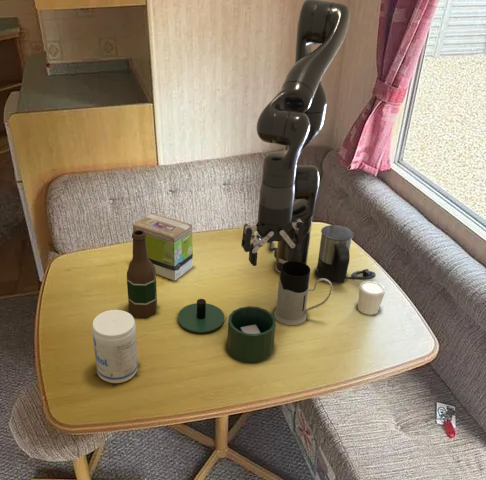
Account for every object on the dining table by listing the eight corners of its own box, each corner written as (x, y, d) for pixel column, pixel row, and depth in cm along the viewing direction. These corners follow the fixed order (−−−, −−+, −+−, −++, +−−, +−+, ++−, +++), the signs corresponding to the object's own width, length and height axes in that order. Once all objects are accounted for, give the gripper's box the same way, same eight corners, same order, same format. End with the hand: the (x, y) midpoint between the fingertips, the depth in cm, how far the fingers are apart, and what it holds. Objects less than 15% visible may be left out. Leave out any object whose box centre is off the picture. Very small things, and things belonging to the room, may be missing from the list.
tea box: (193, 267, 169) (193, 224, 161) (174, 282, 162) (173, 238, 154) (154, 252, 176) (152, 210, 168) (134, 266, 169) (131, 223, 160)
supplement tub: (88, 371, 130) (81, 322, 122) (119, 351, 136) (114, 303, 128) (116, 391, 125) (111, 341, 117) (146, 369, 131) (143, 320, 123)
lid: (173, 310, 151) (172, 291, 147) (216, 303, 154) (217, 285, 150) (184, 338, 141) (183, 319, 137) (230, 330, 144) (231, 311, 140)
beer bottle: (162, 306, 152) (160, 229, 139) (148, 321, 146) (144, 243, 133) (138, 298, 155) (133, 222, 142) (123, 314, 149) (116, 235, 136)
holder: (278, 302, 154) (283, 256, 146) (329, 314, 150) (337, 268, 142) (269, 320, 147) (274, 273, 139) (322, 333, 143) (330, 285, 135)
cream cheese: (238, 339, 140) (239, 326, 138) (254, 336, 141) (256, 323, 139) (247, 355, 135) (248, 342, 133) (263, 352, 136) (265, 339, 134)
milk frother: (309, 270, 169) (314, 227, 160) (352, 260, 174) (359, 218, 166) (335, 295, 158) (343, 250, 150) (380, 284, 163) (390, 240, 155)
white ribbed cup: (381, 317, 149) (386, 296, 146) (355, 314, 150) (359, 293, 147) (380, 303, 155) (384, 282, 151) (355, 299, 156) (359, 279, 152)
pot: (221, 336, 141) (222, 310, 137) (263, 329, 144) (265, 303, 140) (235, 366, 132) (237, 338, 128) (279, 358, 135) (283, 331, 130)
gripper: (299, 189, 126) (292, 250, 135) (240, 196, 123) (237, 257, 132) (313, 204, 120) (304, 266, 130) (251, 211, 117) (247, 274, 126)
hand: (270, 262), depth 131 cm, fingers open, 8 cm apart
